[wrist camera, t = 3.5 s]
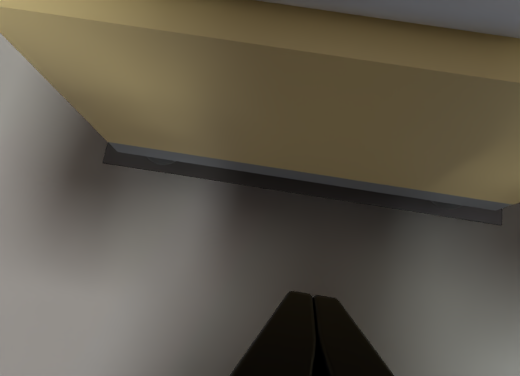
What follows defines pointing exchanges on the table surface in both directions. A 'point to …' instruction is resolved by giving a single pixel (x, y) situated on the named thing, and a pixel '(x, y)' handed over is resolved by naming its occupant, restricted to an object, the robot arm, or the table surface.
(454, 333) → the table surface
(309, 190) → the dock
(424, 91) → the yellow box
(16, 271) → the table surface
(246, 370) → the robot arm
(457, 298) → the table surface
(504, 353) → the table surface
